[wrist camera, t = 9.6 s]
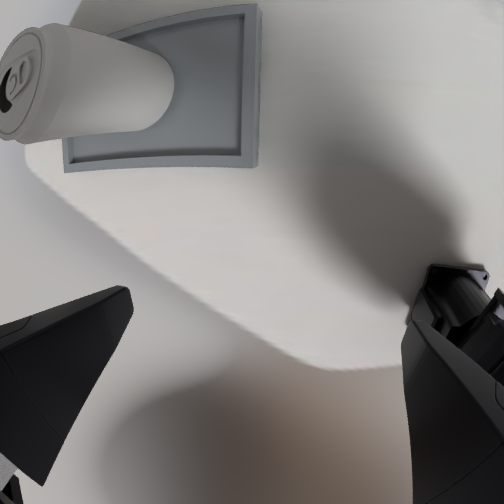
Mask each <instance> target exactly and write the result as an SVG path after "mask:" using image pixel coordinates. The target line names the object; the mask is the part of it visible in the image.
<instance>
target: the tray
mask: <svg viewBox="0 0 504 504" xmlns="http://www.w3.org/2000/svg"><path fill="white" fill-rule="evenodd" d="M261 22H262V12H261V10H260V8H259V6H258V4H244V5H234V6H225V7H217V8H210V9H204V10H198V11H193V12H188V13H183V14H178V15H174V16H170V17H165V18H161V19H158V20H154V21H150V22H147V23H143V24H140V25H137V26H134V27H130V28H127V29H124V30H122V31H119V32H116V33H113V34H110V35H108V36H107V37H110V38H113V39H116V40H119V41H122V42H125V43H128V44H131V45H134V46H137V47H139V48H142V49H145V50H147V51H150V52H153V53H155V54H158V55H160V56H161V57H163V58H164V59H165V60H166V61H167V62H168V64H169V65H170V67H171V69H172V71H173V75H174V92H173V96H172V99H171V102H170V104H169V106H168V108H167V110H166V111H165V113H164V114H163V115H162V117H161V118H160V119H159V120H158V121H157V122H155V123H154V124H153V125H151V126H149V127H148V128H145V129H143V130H139V131H129V132H115V133H103V134H93V135H83V136H75V137H68V138H62V146H63V164H64V173H70V172H81V171H93V170H107V169H124V168H147V167H229V168H255V167H257V166H258V143H259V105H260V65H261Z"/></svg>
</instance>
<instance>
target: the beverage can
mask: <svg viewBox="0 0 504 504" xmlns="http://www.w3.org/2000/svg"><path fill="white" fill-rule="evenodd" d="M173 92H174V75H173V71H172V69H171V67H170V65H169V64H168V62H167V61H166V60H165V59H164V58H163V57H161V56H160V55H158V54H155V53H153V52H150V51H147V50H145V49H142V48H139V47H137V46H134V45H131V44H128V43H125V42H122V41H119V40H116V39H113V38H110V37H107V36H103V35H100V34H97V33H93V32H90V31H86V30H82V29H78V28H74V27H70V26H65V25H61V24H56V23H53V24H48V25H45V26H43V27H41V28H35V27H31V28H27V29H25V30H24V31H22V32H21V33H19V34H18V35H17V36H16V37H15V38H14V40H13V41H12V42H11V43H10V45H9V46H8V48H7V49H6V51H5V53H4V54H3V56H2V58H1V61H0V138H1V139H3V140H13V139H14V140H16V141H18V142H19V143H22V144H31V143H36V142H42V141H48V140H54V139H61V138H68V137H75V136H83V135H93V134H103V133H115V132H129V131H139V130H143V129H145V128H148V127H149V126H151V125H153V124H154V123H155V122H157V121H158V120H159V119H160V118H161V117H162V115H163V114H164V113H165V111H166V110H167V108H168V106H169V104H170V102H171V99H172V96H173Z"/></svg>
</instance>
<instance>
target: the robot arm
mask: <svg viewBox="0 0 504 504" xmlns="http://www.w3.org/2000/svg"><path fill="white" fill-rule="evenodd" d="M434 269H436V270H435V272H433V273H432V271H433V270H434ZM484 275H485V277H484ZM483 277H484V278H483ZM488 280H489V273H488V272H487V271H486V270H480V269H472V268H464V267H456V266H448V265H440V264H432V265H430V266H429V268H428V270H427V274H426V277H425V281H424V284H423V287H422V288H421V289H420V291H419V294H418V297H417V300H416V303H415V306H414V309H413V312H412V320H411V321H410V322H409V324H408V327H407V329H406V332H405V334H404V337H403V340H402V343H401V354H402V367H403V384H404V395H405V402H406V409H407V417H408V425H409V435H410V446H411V459H412V478H413V479H412V480H413V504H504V292H503V291H502V290H501V289H499V288H498V289H497V290H496V292H495V293H494V297H493V298H492V299H490V297H489V296H488V295H487V294H486V292H485V288H486V285H487V283H488ZM133 309H134V307H133V303H132V299H131V294H130V290H129V289H128V288H127V287H125V286H118V285H117V286H114V287H111V288H108V289H105V290H102V291H99V292H96V293H93V294H91V295H88V296H85V297H82V298H79V299H76V300H73V301H70V302H68V303H65V304H62V305H59V306H56V307H53V308H50V309H48V310H45V311H42V312H39V313H36V314H34V315H33V316H32V315H31V316H28V317H25V318H22V319H19V320H16V321H13V322H10V323H7V324H4V325H1V326H0V504H23V500H22V495H21V490H20V485H19V478H18V477H16V475H14V472H15V471H16V470H17V468H18V469H20V470H21V471H22V472H23V473H25V474H26V475H27V476H29V477H30V478H31V479H32V480H34V481H35V482H37V483H38V484H39V485H40V486H43V485H44V483H45V481H46V479H47V477H48V475H49V473H50V470H51V468H52V466H53V464H54V462H55V460H56V458H57V456H58V453H59V452H60V450H61V447H62V445H63V443H64V441H65V439H66V437H67V435H68V433H69V431H70V429H71V427H72V426H73V424H74V422H75V420H76V418H77V416H78V414H79V412H80V410H81V408H82V407H83V405H84V403H85V401H86V399H87V398H88V396H89V394H90V392H91V390H92V388H93V387H94V385H95V383H96V382H97V380H98V378H99V377H100V375H101V373H102V371H103V370H104V368H105V366H106V364H107V363H108V361H109V360H110V358H111V356H112V354H113V353H114V351H115V349H116V347H117V346H118V343H119V342H120V339H121V337H122V335H123V333H124V331H125V329H126V327H127V325H128V323H129V321H130V319H131V317H132V315H133V311H134V310H133Z"/></svg>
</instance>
